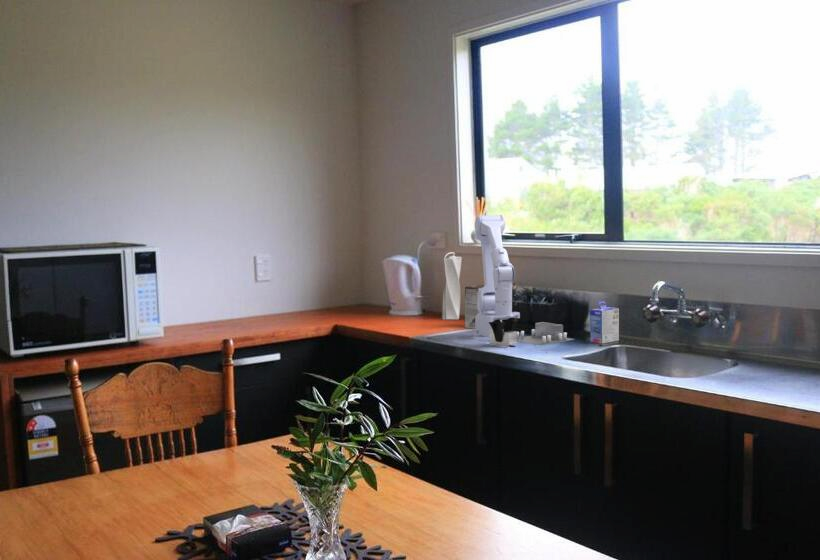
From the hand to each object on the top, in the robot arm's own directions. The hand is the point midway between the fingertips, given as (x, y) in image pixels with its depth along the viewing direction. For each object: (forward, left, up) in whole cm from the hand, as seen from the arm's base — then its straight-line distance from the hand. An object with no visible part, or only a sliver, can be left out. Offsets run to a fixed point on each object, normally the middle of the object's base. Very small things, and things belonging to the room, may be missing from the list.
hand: (503, 340), depth 269 cm
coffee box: (-34, +22, -2) cm, 41 cm away
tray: (+5, +14, -1) cm, 15 cm away
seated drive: (+5, +18, 0) cm, 19 cm away
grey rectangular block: (0, 0, -2) cm, 2 cm away
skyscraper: (-58, +31, -2) cm, 66 cm away
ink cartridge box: (+21, +28, -2) cm, 35 cm away
